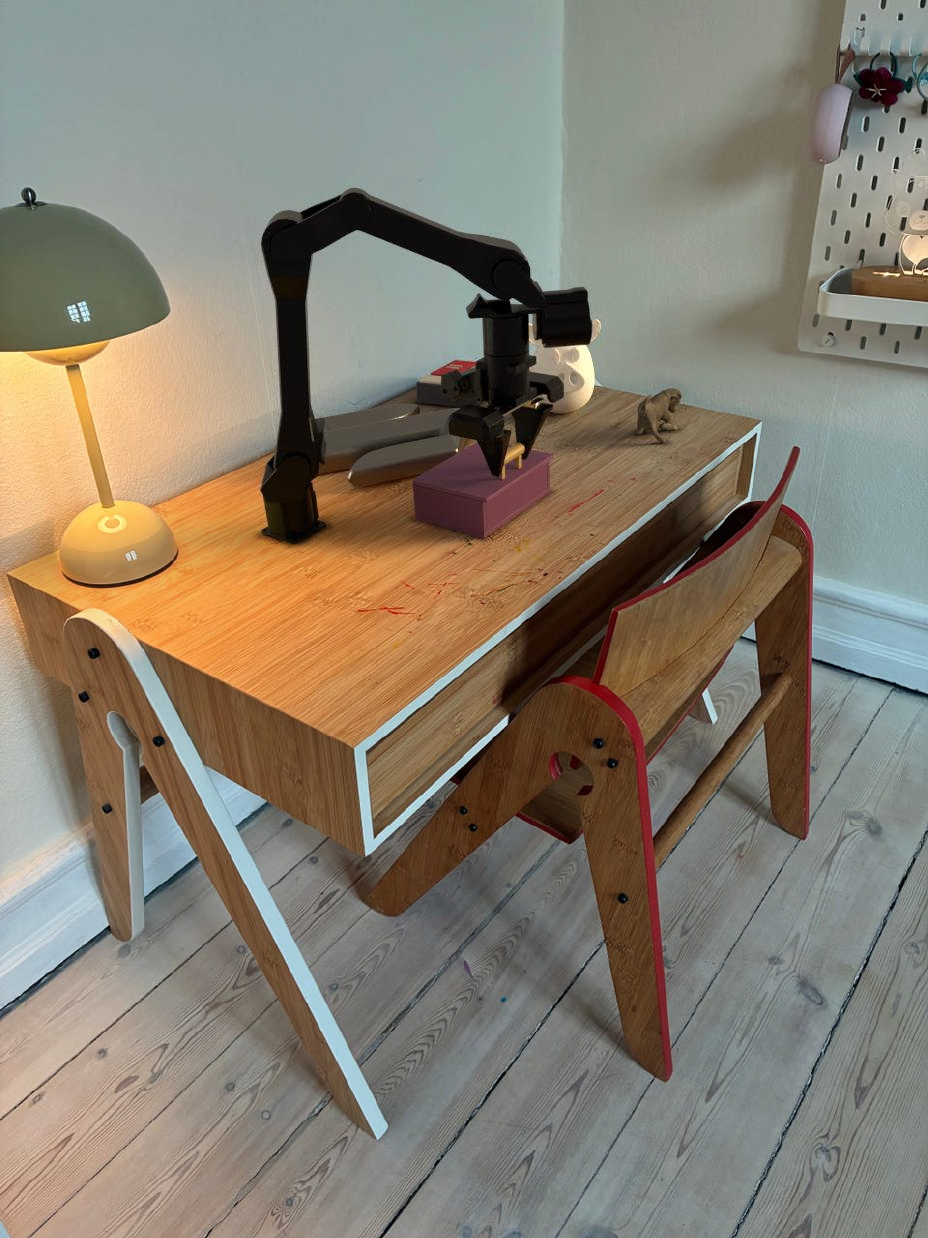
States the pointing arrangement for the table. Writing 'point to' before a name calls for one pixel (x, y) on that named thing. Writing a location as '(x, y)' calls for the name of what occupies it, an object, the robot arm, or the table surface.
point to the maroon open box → (480, 505)
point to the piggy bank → (567, 370)
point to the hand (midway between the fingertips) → (509, 467)
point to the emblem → (388, 443)
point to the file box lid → (481, 472)
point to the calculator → (432, 386)
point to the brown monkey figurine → (658, 412)
